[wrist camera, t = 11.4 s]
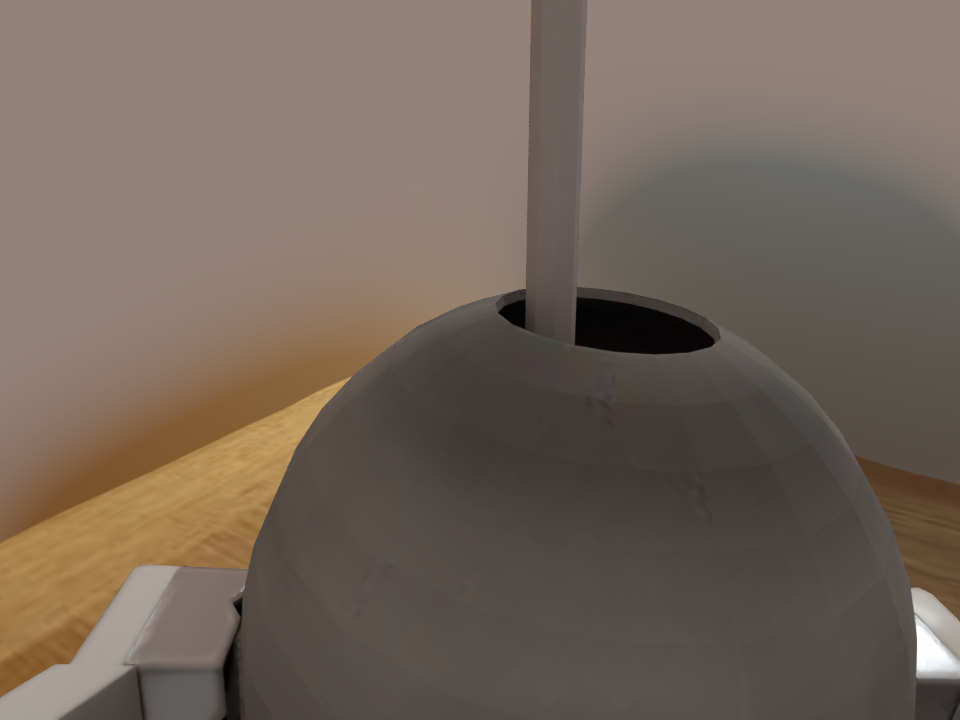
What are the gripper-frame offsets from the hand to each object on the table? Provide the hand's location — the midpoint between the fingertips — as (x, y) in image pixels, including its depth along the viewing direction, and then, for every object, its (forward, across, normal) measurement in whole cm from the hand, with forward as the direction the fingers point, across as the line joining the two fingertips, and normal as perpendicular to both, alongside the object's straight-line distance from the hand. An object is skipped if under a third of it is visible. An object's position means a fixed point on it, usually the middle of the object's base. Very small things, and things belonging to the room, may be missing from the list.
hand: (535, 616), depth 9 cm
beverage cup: (-1, 0, +11) cm, 11 cm away
